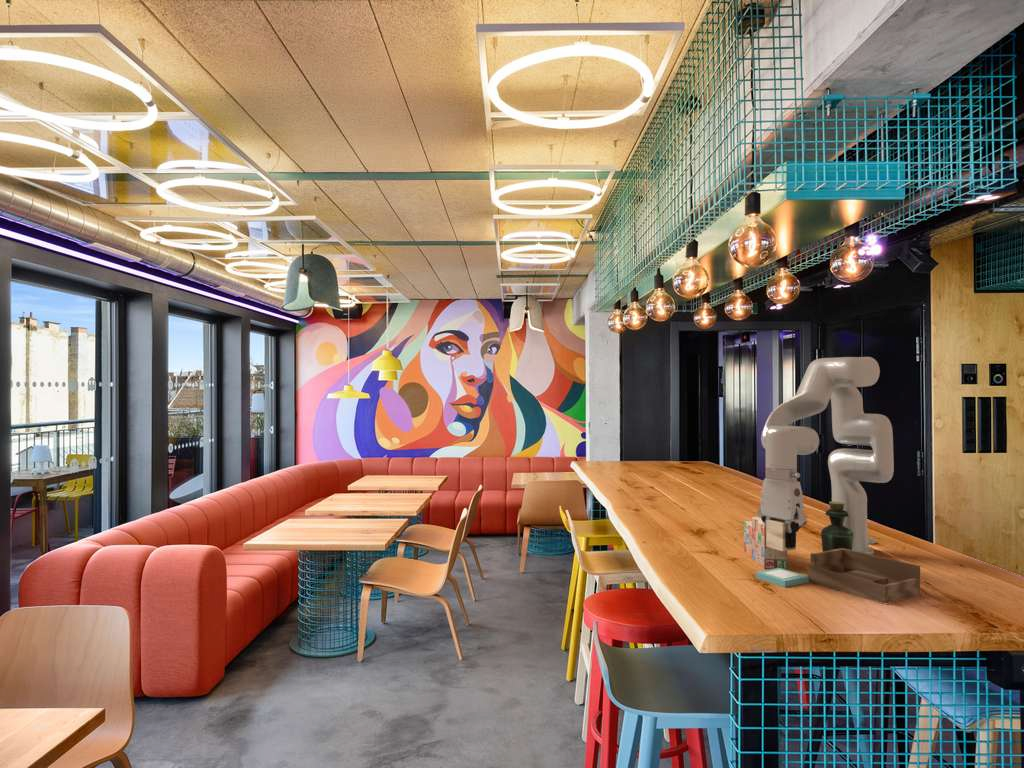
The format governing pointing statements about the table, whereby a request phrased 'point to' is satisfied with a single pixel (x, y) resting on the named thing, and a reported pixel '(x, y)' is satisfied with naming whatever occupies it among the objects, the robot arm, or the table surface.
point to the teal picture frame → (782, 577)
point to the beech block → (776, 534)
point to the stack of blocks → (762, 546)
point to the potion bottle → (836, 529)
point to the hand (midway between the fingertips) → (781, 544)
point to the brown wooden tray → (865, 575)
